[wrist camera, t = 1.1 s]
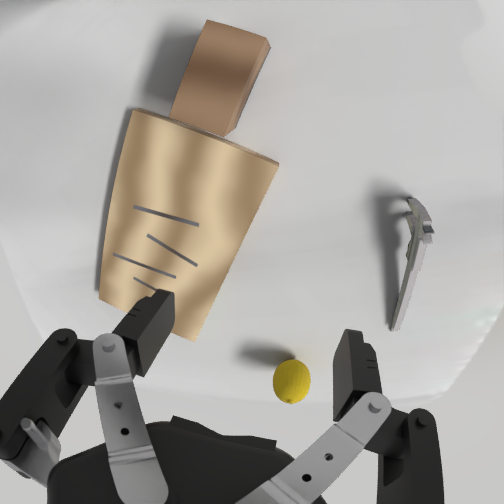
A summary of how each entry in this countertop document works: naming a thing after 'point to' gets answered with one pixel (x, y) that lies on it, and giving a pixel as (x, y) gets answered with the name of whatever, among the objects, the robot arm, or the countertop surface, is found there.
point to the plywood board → (178, 216)
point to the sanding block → (219, 78)
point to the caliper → (413, 256)
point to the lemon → (291, 381)
